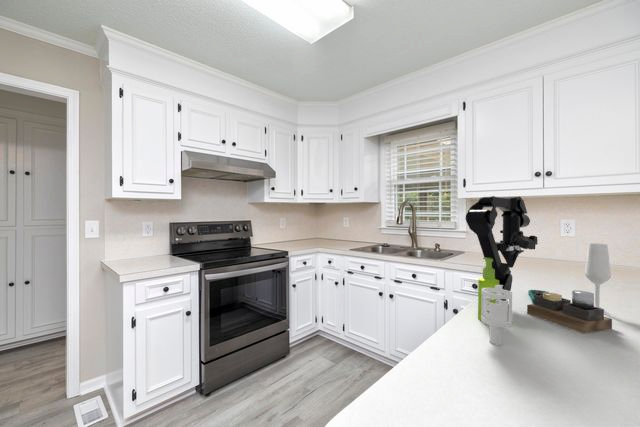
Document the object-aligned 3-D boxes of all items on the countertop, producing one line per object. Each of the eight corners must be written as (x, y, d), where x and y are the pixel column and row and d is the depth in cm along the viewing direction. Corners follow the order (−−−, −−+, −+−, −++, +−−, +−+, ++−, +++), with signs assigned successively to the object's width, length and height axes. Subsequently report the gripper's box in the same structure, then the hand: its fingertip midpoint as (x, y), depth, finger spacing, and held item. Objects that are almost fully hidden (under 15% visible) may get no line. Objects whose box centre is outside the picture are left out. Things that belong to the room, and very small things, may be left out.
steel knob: (586, 308, 86) (586, 295, 86) (568, 303, 91) (568, 291, 91) (598, 307, 88) (598, 294, 88) (579, 302, 93) (579, 289, 93)
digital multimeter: (549, 298, 120) (549, 291, 120) (557, 308, 107) (557, 300, 107) (528, 295, 124) (528, 288, 124) (532, 305, 111) (532, 297, 111)
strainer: (514, 342, 78) (514, 286, 78) (508, 351, 73) (508, 291, 73) (485, 334, 83) (485, 282, 83) (477, 342, 78) (478, 286, 78)
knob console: (583, 333, 84) (584, 312, 84) (527, 313, 100) (527, 296, 100) (611, 328, 87) (612, 308, 87) (552, 310, 104) (552, 293, 104)
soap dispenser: (495, 316, 97) (496, 257, 97) (501, 324, 91) (501, 260, 90) (476, 314, 99) (476, 256, 99) (480, 321, 93) (480, 259, 92)
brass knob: (554, 309, 95) (554, 297, 95) (539, 304, 100) (539, 293, 100) (565, 308, 96) (565, 296, 96) (549, 303, 101) (549, 292, 101)
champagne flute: (589, 307, 107) (590, 242, 106) (614, 313, 101) (615, 244, 100) (580, 310, 104) (581, 243, 104) (605, 316, 98) (605, 245, 98)
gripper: (511, 229, 105) (511, 272, 105) (549, 229, 110) (549, 270, 110) (486, 228, 116) (485, 267, 116) (521, 227, 121) (521, 264, 121)
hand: (510, 267), depth 115 cm, fingers closed
